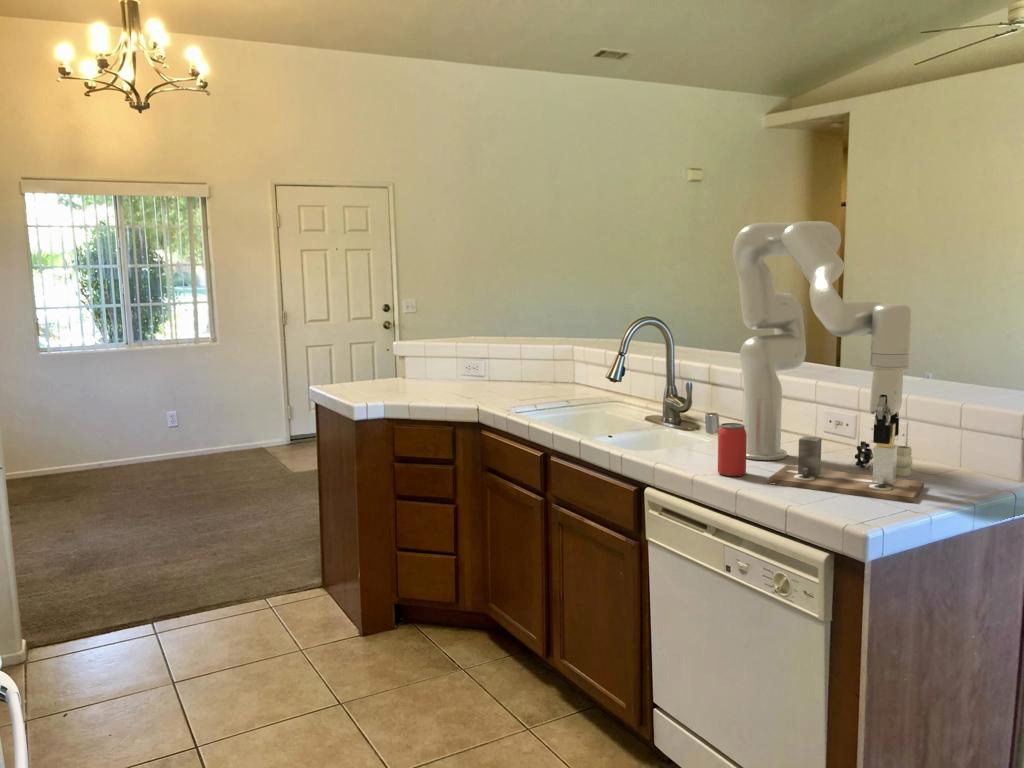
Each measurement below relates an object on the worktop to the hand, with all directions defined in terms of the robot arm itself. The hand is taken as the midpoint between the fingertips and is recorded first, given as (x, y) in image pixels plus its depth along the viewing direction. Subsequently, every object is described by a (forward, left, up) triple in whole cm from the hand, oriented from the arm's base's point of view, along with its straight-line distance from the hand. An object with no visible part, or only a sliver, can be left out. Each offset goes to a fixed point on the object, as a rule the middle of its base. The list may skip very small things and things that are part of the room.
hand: (885, 439), depth 173 cm
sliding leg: (0, -1, -10) cm, 10 cm away
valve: (-3, +17, -12) cm, 20 cm away
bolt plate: (-8, -1, -11) cm, 14 cm away
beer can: (-33, -4, -11) cm, 35 cm away
